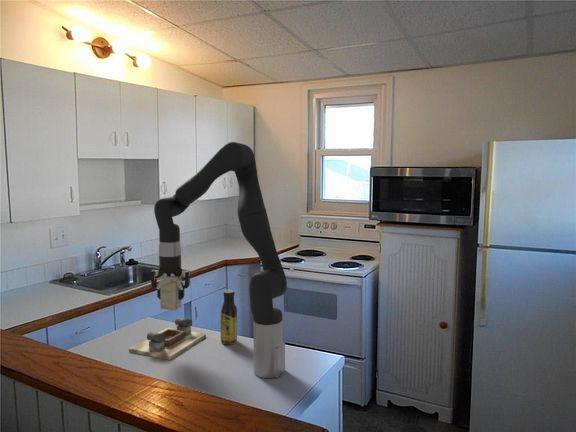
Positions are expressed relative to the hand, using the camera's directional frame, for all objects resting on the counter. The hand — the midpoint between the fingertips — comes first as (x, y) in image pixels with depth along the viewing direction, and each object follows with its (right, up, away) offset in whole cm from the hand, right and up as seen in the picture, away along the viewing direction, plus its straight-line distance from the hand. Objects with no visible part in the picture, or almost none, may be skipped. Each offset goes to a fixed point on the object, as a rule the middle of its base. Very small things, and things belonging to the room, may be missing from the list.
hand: (171, 298), depth 161 cm
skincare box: (0, -4, 0) cm, 4 cm away
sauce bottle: (+20, -18, +8) cm, 28 cm away
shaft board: (-3, -18, +7) cm, 19 cm away
